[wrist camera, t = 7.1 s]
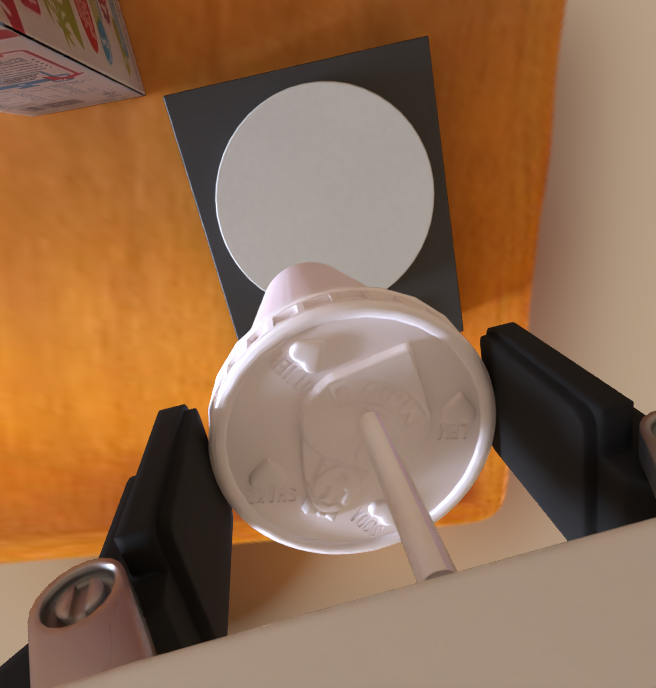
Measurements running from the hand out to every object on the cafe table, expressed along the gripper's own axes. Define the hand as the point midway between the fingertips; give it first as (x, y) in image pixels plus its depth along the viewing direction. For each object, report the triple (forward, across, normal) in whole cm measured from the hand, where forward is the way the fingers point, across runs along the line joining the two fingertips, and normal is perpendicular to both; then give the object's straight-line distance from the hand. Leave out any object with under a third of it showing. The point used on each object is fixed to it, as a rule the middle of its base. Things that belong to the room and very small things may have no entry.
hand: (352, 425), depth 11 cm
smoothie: (+9, 0, 0) cm, 9 cm away
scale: (+24, -3, -1) cm, 25 cm away
